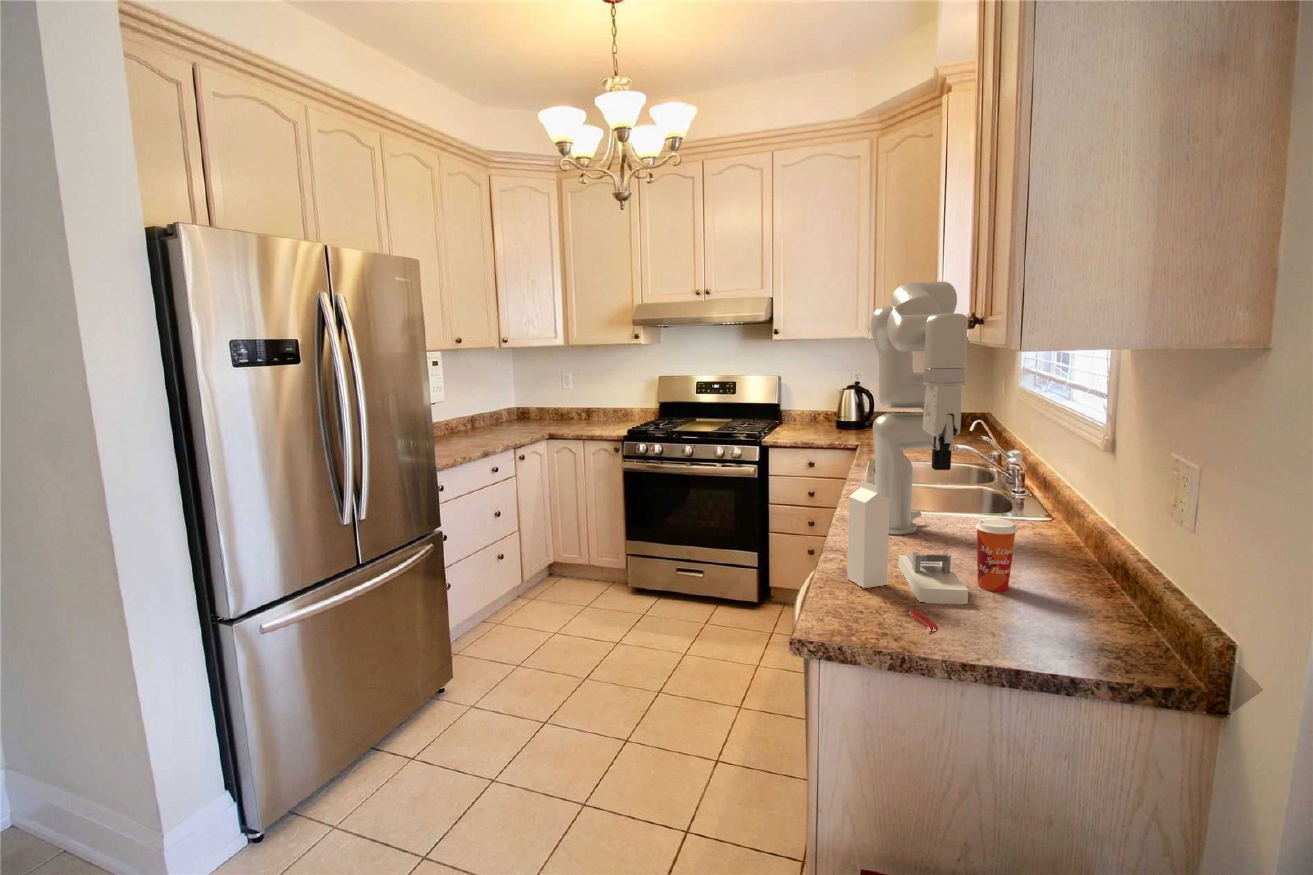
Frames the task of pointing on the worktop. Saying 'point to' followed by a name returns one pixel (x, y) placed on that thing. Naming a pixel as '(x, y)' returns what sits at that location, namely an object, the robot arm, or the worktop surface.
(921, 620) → the cayenne pepper
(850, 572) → the milk
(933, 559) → the breaker paddle
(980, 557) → the paper cup
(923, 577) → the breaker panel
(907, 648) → the worktop surface
